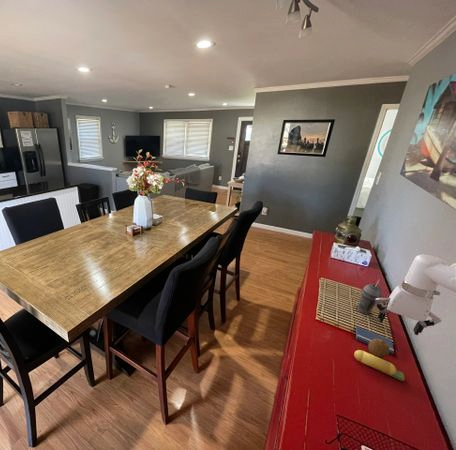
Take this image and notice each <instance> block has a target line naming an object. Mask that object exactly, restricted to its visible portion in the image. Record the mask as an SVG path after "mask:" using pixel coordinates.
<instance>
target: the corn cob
mask: <svg viewBox="0 0 456 450" xmlns="http://www.w3.org/2000/svg"><path fill="white" fill-rule="evenodd" d="M353 356H354V358H355V359H356V361H358V362H359V363H361V364H363V365H366V366H368V367H370V368H372V369H374V370H377V371H379V372H381V373H383V374H386V375H388V376H390V377H392V378H393V379H396V380H399V381H401V382H404V381H405V374H404V372H402V371H400V370H398V369H397V368H396V366H395V365H394V363H391V362H390V361H387V360H385V359H384V358H378V357H376V356H374V355H372V354H371V353H370V352H367V351H365V350H362V349H357V350H355V351H354V354H353Z"/></svg>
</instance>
